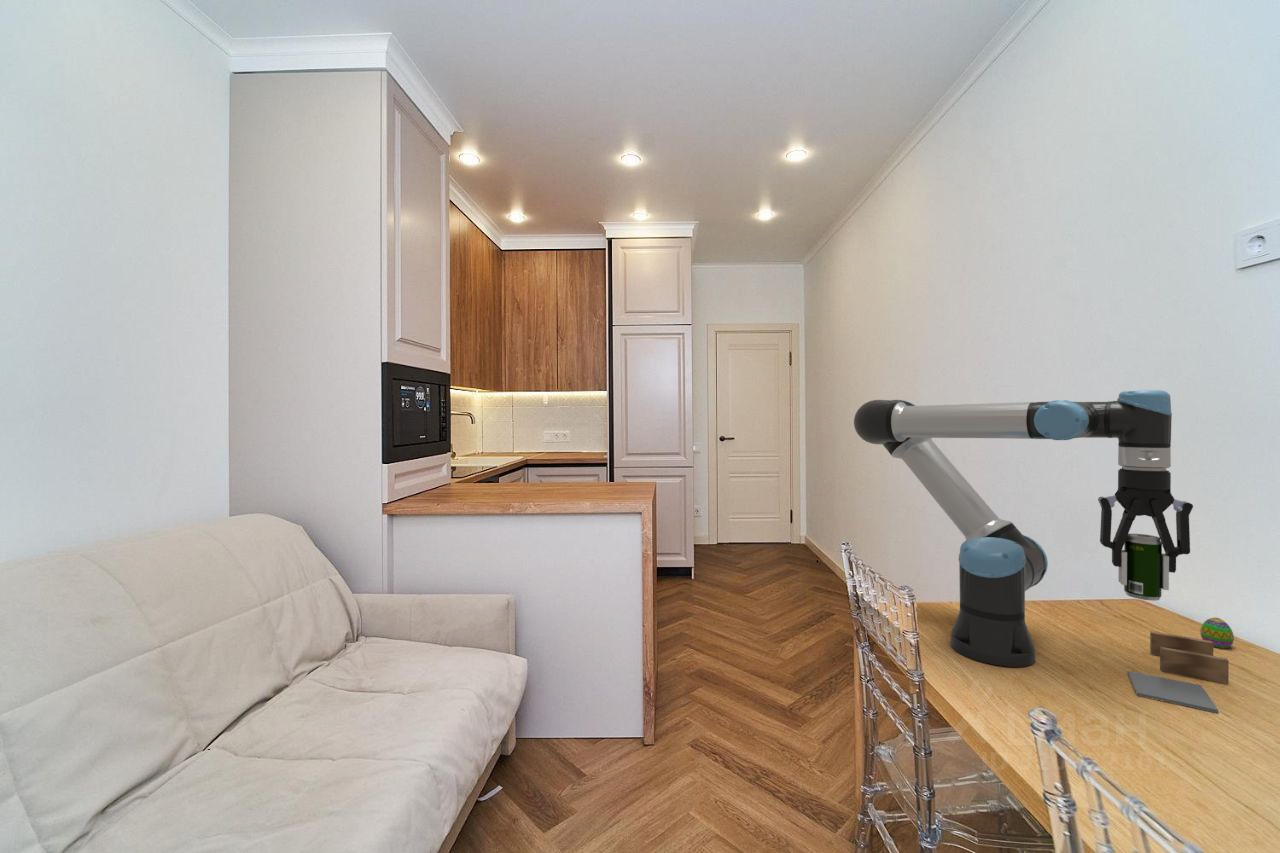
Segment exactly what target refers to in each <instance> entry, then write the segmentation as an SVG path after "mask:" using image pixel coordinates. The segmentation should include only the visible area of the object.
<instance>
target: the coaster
mask: <svg viewBox="0 0 1280 853" xmlns="http://www.w3.org/2000/svg"><path fill="white" fill-rule="evenodd" d="M1127 675H1128V677H1129V681H1130V682H1131V685H1132V687H1133V690H1134V691H1136V692H1135V694H1136V696H1137V697H1140V696H1142V697H1141V698H1145V697H1148V698H1147V699H1149V698H1153V699H1152V700H1154V699H1158V700H1157V701H1159V700H1163V701H1167V702H1166V703H1168V702H1170V703H1169V704H1172V703H1174V705H1177V704H1178V706H1182V705H1184V706H1183V707H1186V706H1189V707H1188V708H1191V707H1193V708H1192V709H1195V708H1197V709H1196V710H1200V709H1201V710H1202V711H1205V710H1206V711H1205V712H1209V711H1210V713H1215V714H1219V709H1218V707H1217V706H1216V704H1215V703H1214V702H1213V700H1212V698H1211V697H1210V696H1209V694H1208V692H1207V691H1206V689H1204V687H1203V686H1202V684H1197V683H1192V682H1188V681H1187V682H1186V681H1181V680H1176V679H1171V678H1168V677H1167V678H1166V677H1161V676H1157V675H1152V674H1146V673H1143V672H1142V673H1141V672H1136V671H1133V670H1132V671H1130V670H1127ZM1163 701H1162V702H1163Z"/></svg>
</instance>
